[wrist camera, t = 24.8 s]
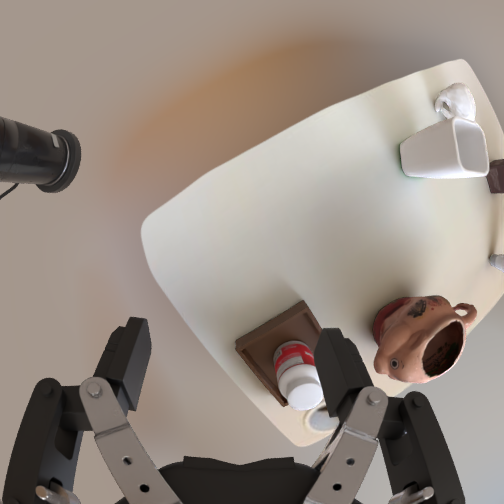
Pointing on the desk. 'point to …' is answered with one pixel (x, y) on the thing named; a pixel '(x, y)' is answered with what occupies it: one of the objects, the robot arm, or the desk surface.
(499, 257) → the lightbulb
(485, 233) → the desk surface
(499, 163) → the box
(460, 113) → the white lumpy curved piece
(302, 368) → the pill bottle
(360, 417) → the robot arm
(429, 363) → the pink face mug
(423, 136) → the cup
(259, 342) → the tray
